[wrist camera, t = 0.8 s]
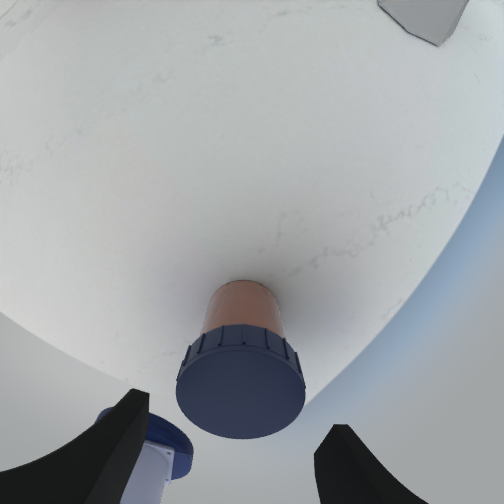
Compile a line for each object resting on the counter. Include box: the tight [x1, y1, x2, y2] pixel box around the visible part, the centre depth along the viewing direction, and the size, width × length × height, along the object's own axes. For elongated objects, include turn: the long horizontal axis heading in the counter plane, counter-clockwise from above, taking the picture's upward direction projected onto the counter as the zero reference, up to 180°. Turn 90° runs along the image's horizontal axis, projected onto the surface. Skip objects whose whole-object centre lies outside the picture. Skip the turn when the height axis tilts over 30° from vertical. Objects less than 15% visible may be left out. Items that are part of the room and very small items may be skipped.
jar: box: [199, 280, 286, 339], centre depth 15 cm, size 5×5×8 cm
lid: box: [176, 323, 306, 439], centre depth 11 cm, size 5×5×2 cm
